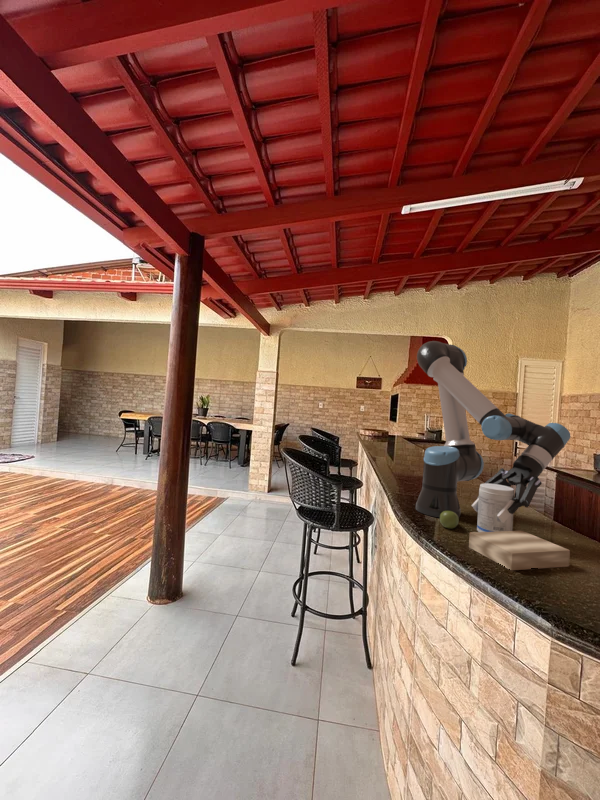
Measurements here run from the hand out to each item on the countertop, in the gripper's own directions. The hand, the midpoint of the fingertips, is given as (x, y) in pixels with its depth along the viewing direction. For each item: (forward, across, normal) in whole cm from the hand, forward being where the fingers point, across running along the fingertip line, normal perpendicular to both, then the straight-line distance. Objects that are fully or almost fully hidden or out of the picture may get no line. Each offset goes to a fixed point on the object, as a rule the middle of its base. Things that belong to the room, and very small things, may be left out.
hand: (486, 513), depth 113 cm
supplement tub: (+2, 0, -7) cm, 7 cm away
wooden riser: (+7, -15, -2) cm, 17 cm away
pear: (+9, +9, -1) cm, 13 cm away
